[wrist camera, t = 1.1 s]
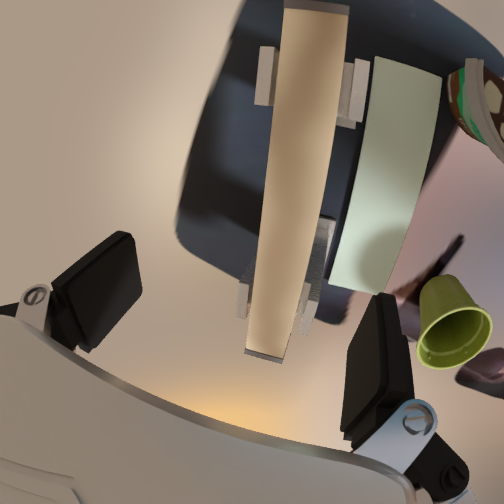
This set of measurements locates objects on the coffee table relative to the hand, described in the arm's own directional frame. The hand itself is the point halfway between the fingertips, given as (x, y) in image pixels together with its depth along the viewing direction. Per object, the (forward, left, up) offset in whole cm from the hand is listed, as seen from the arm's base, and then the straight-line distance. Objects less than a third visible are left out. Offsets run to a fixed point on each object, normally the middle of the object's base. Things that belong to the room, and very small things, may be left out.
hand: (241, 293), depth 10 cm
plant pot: (-20, +11, -21) cm, 31 cm away
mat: (-8, 0, -21) cm, 23 cm away
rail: (0, 0, -10) cm, 10 cm away
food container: (-17, -10, -21) cm, 29 cm away
